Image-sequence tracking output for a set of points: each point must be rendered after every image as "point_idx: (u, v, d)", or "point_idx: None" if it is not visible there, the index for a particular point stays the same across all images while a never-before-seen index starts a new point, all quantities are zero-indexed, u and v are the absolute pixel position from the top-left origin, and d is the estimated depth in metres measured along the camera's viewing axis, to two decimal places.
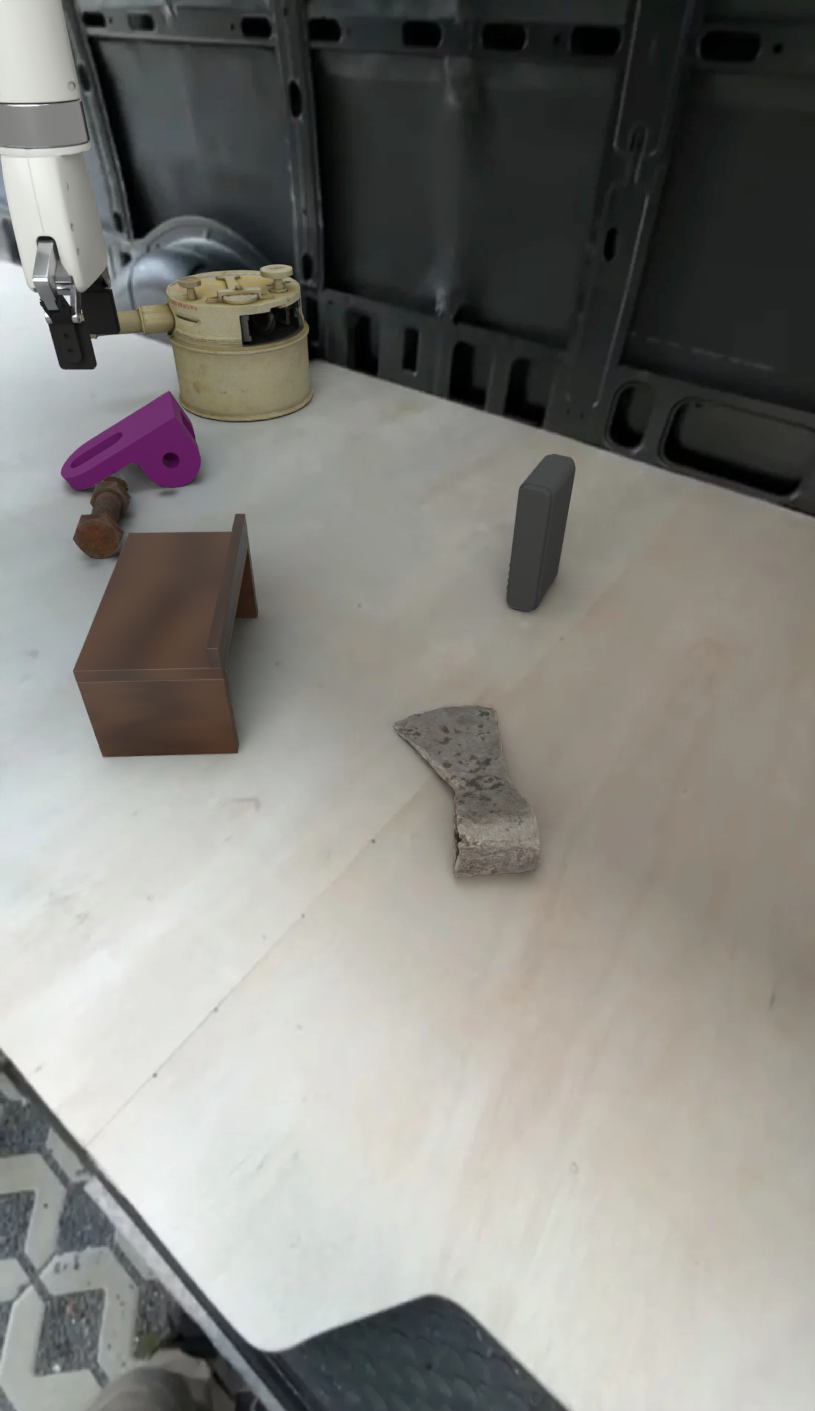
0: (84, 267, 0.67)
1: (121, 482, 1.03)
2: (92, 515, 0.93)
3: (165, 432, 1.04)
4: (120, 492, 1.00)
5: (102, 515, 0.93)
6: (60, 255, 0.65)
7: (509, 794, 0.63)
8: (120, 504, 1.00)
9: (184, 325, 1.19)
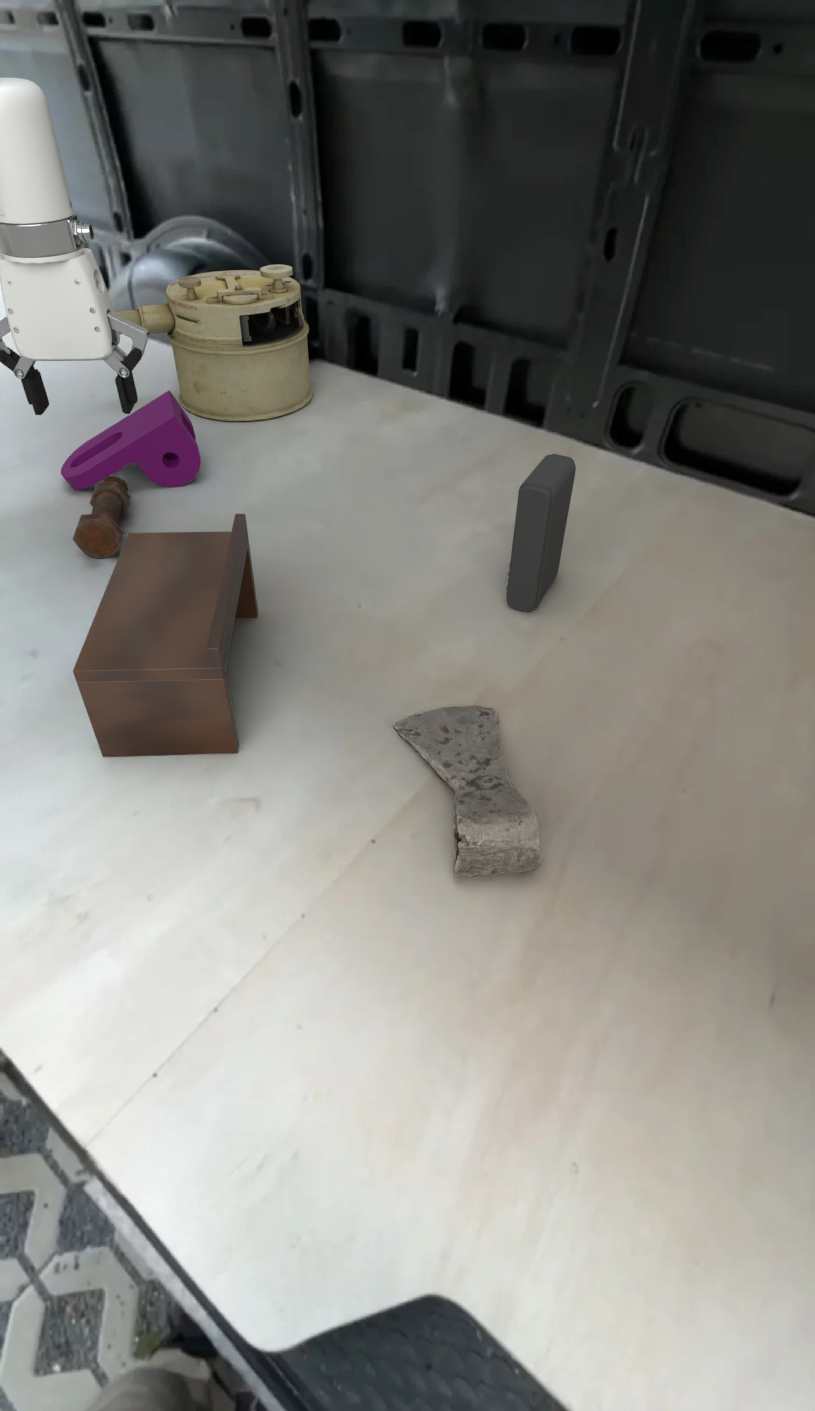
0: (26, 343, 0.83)
1: (121, 482, 1.03)
2: (92, 515, 0.93)
3: (164, 431, 1.04)
4: (120, 492, 1.00)
5: (102, 515, 0.93)
6: None
7: (509, 794, 0.63)
8: (120, 504, 1.00)
9: (184, 325, 1.19)
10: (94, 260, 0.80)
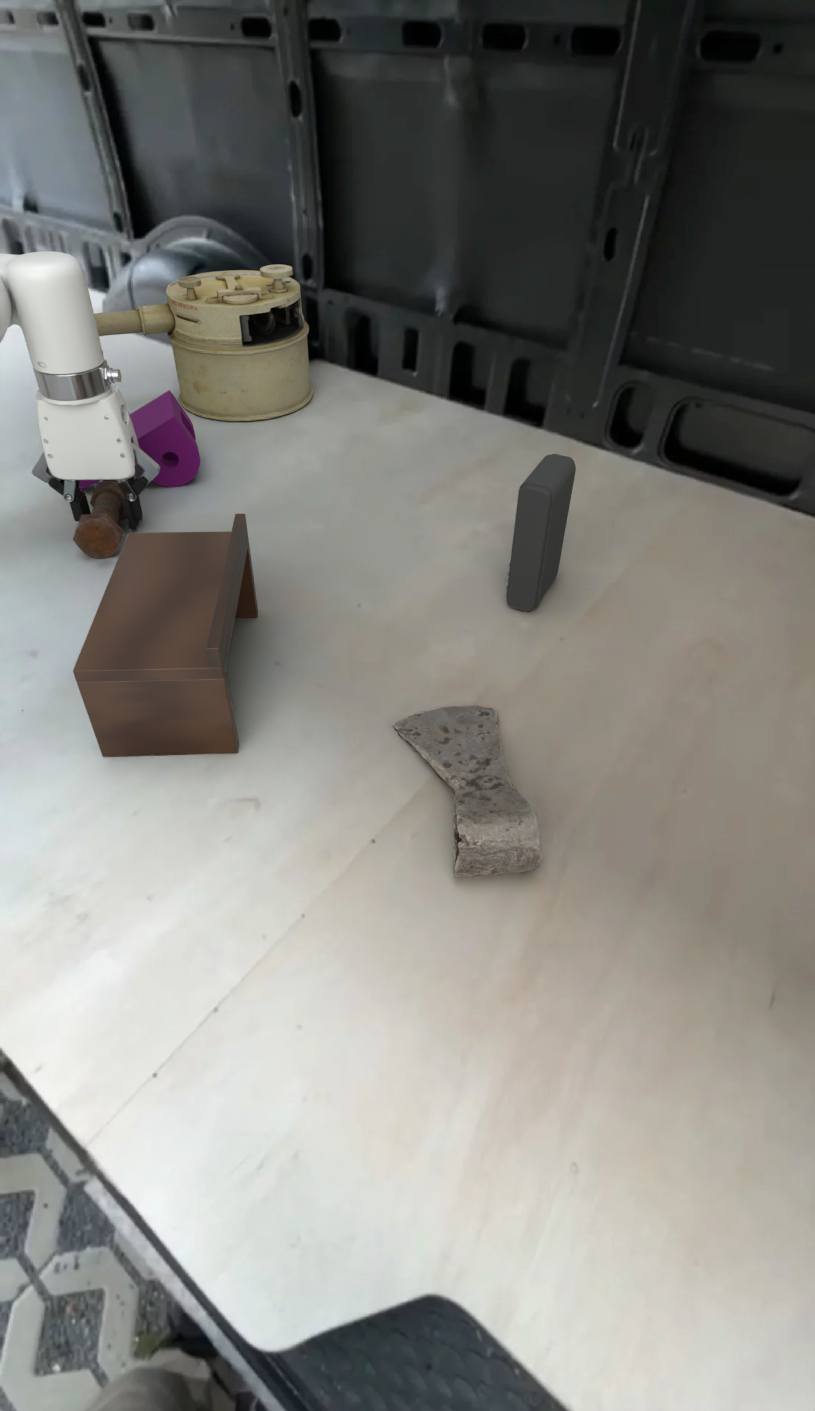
0: (58, 466, 0.93)
1: None
2: (92, 515, 0.93)
3: (164, 431, 1.04)
4: (120, 492, 1.00)
5: (102, 515, 0.93)
6: None
7: (509, 794, 0.63)
8: (120, 504, 1.00)
9: (184, 325, 1.19)
10: (121, 397, 0.90)
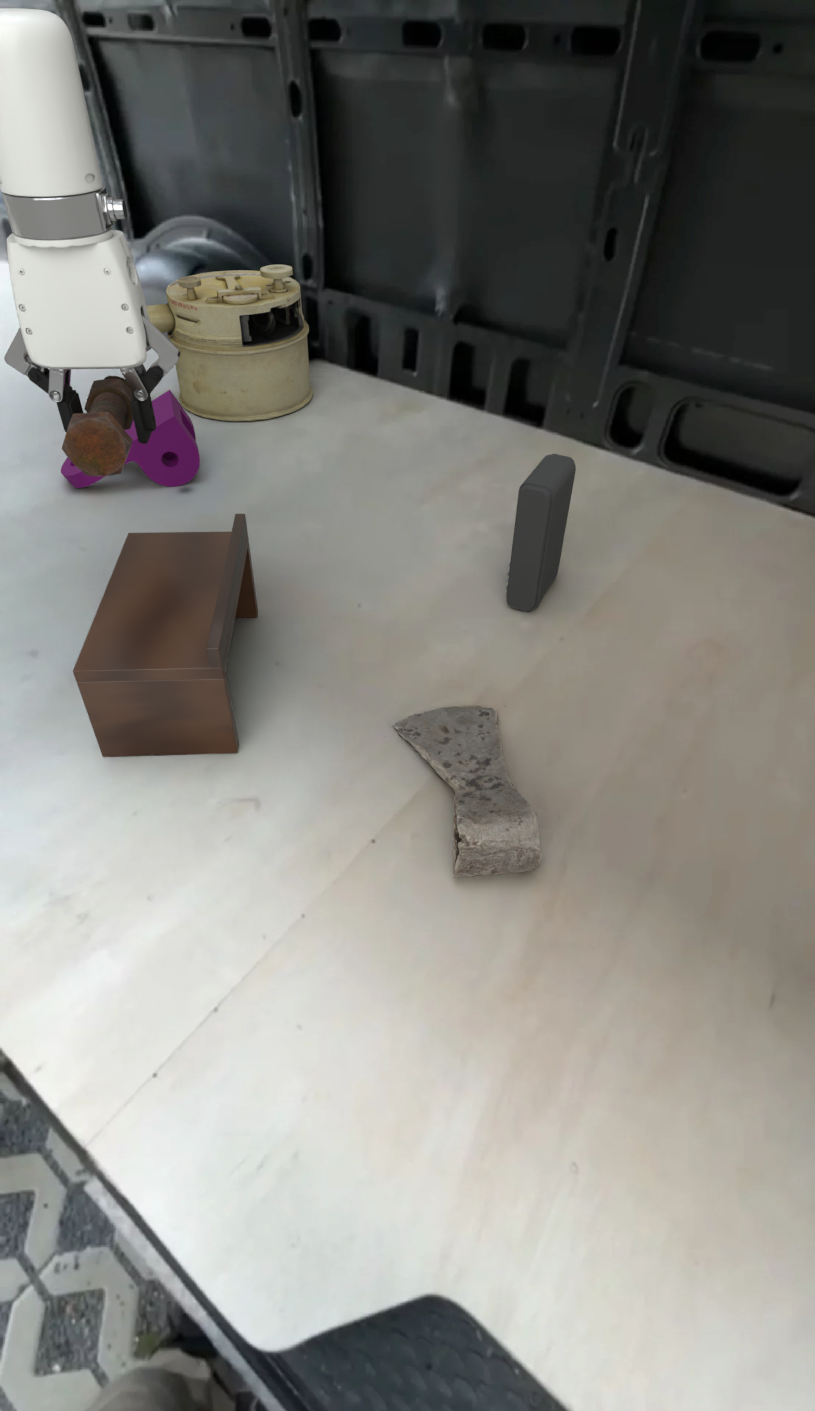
0: (41, 347, 0.67)
1: (126, 384, 0.77)
2: (88, 414, 0.67)
3: (164, 431, 1.04)
4: (125, 393, 0.74)
5: (102, 414, 0.67)
6: None
7: (508, 794, 0.63)
8: (125, 409, 0.74)
9: (184, 325, 1.19)
10: (126, 245, 0.65)
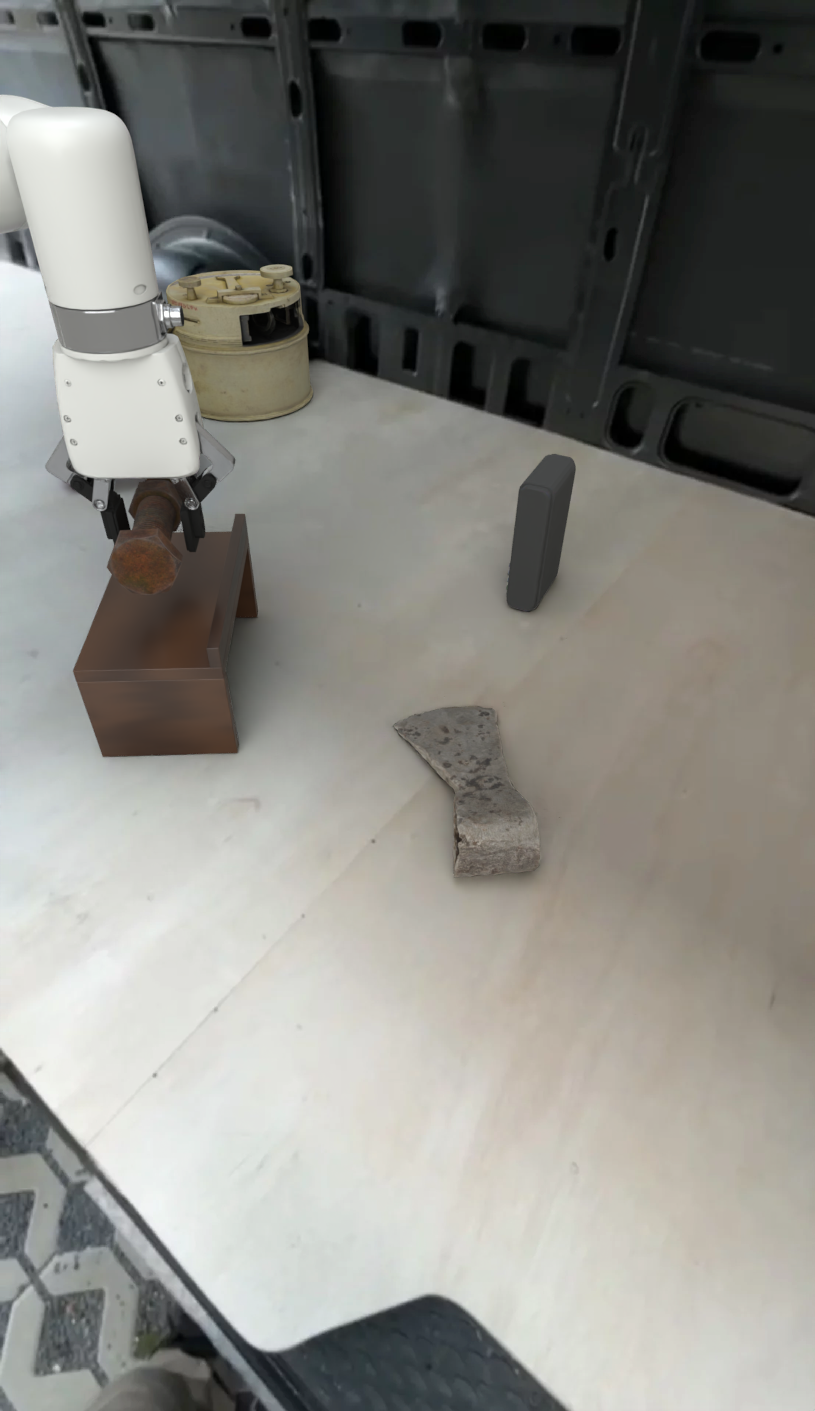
0: (86, 458, 0.61)
1: None
2: (136, 531, 0.61)
3: None
4: (173, 496, 0.69)
5: (151, 531, 0.61)
6: None
7: (509, 794, 0.63)
8: (173, 513, 0.69)
9: (184, 325, 1.19)
10: (182, 351, 0.59)
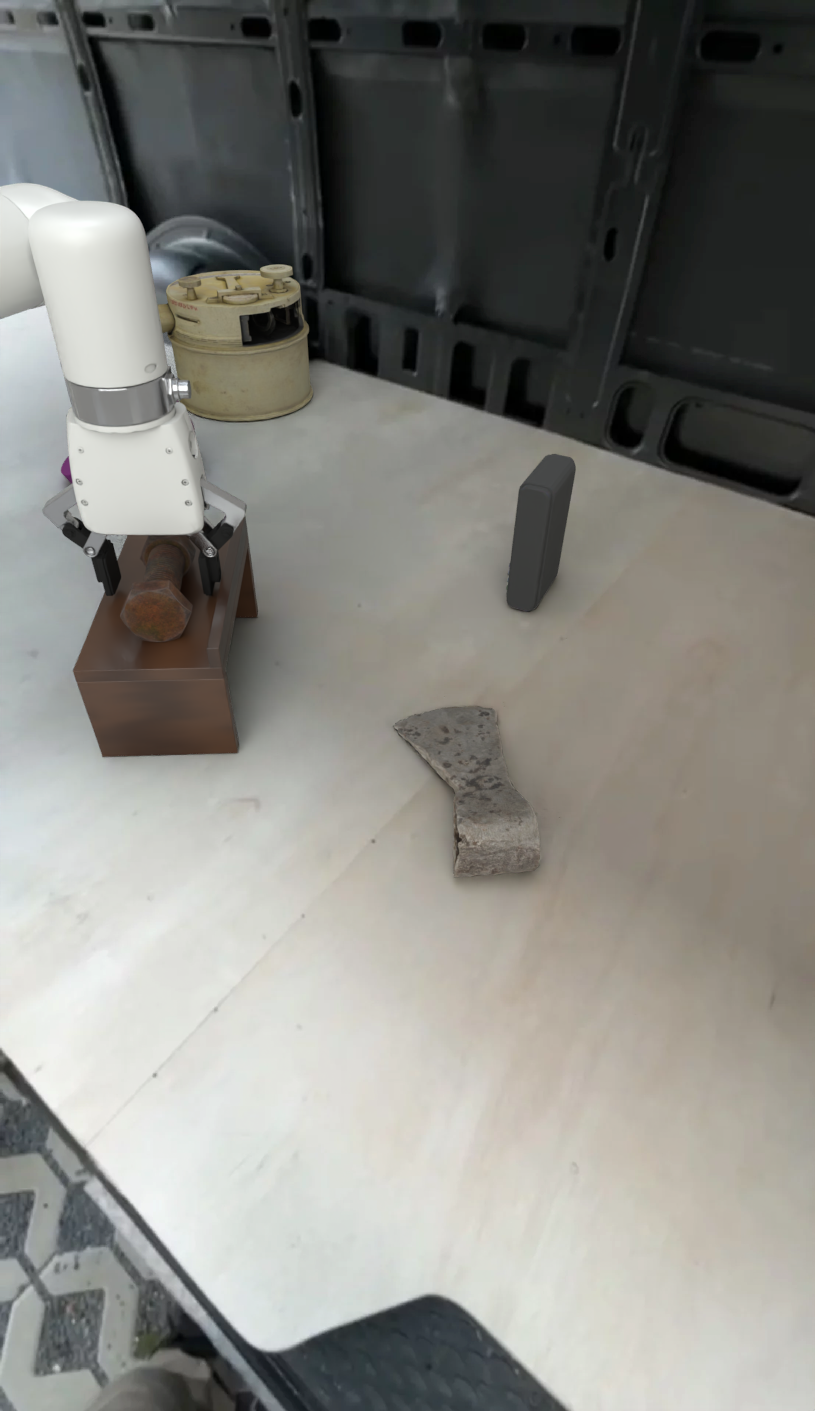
0: (96, 517, 0.65)
1: None
2: (149, 583, 0.65)
3: None
4: (183, 544, 0.72)
5: (163, 583, 0.64)
6: None
7: (508, 794, 0.63)
8: (183, 561, 0.72)
9: (184, 325, 1.19)
10: (188, 419, 0.62)
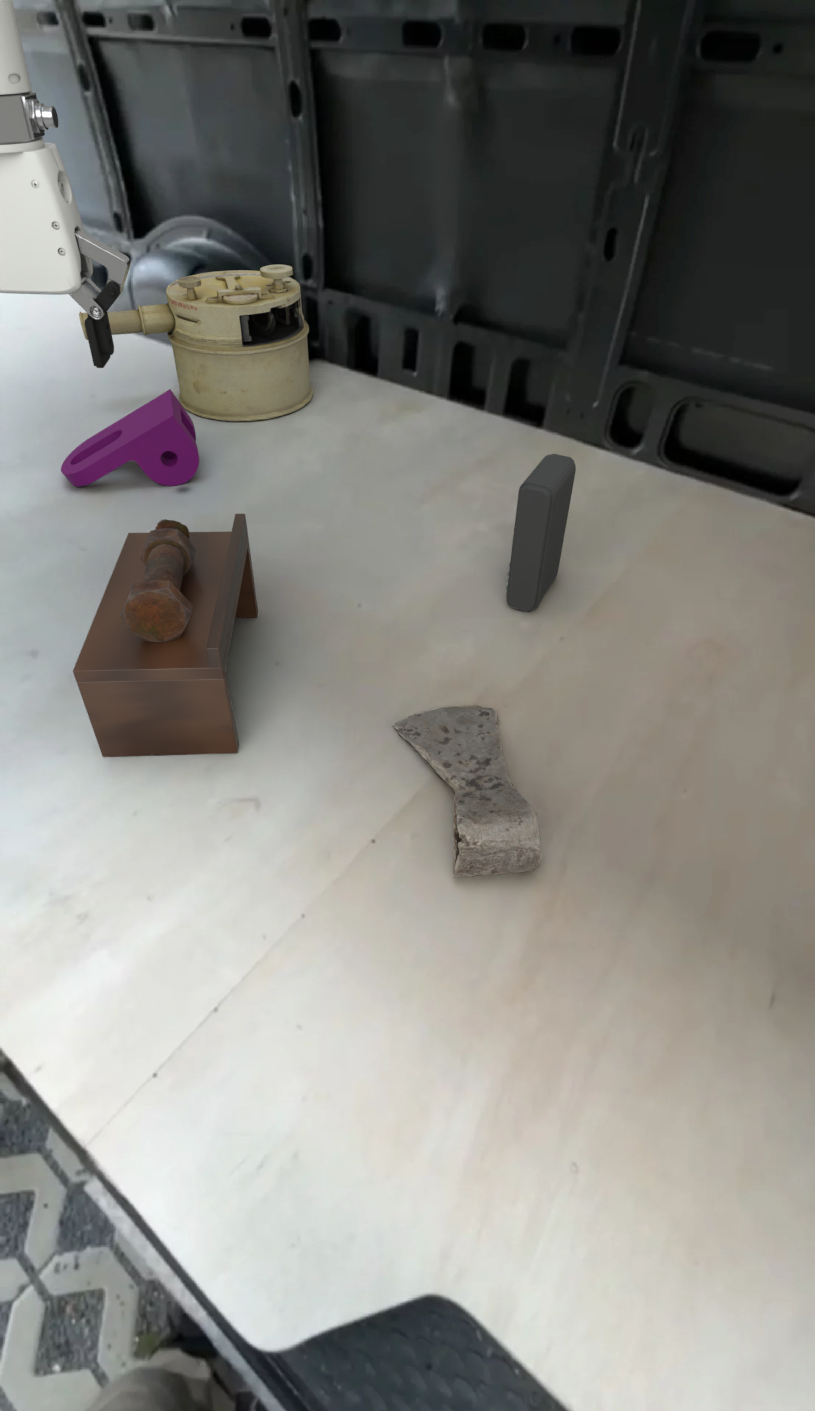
0: None
1: (182, 528, 0.75)
2: (148, 583, 0.65)
3: (163, 430, 1.04)
4: (183, 544, 0.72)
5: (163, 583, 0.64)
6: None
7: (508, 794, 0.63)
8: (182, 561, 0.72)
9: (184, 325, 1.19)
10: (59, 158, 0.61)
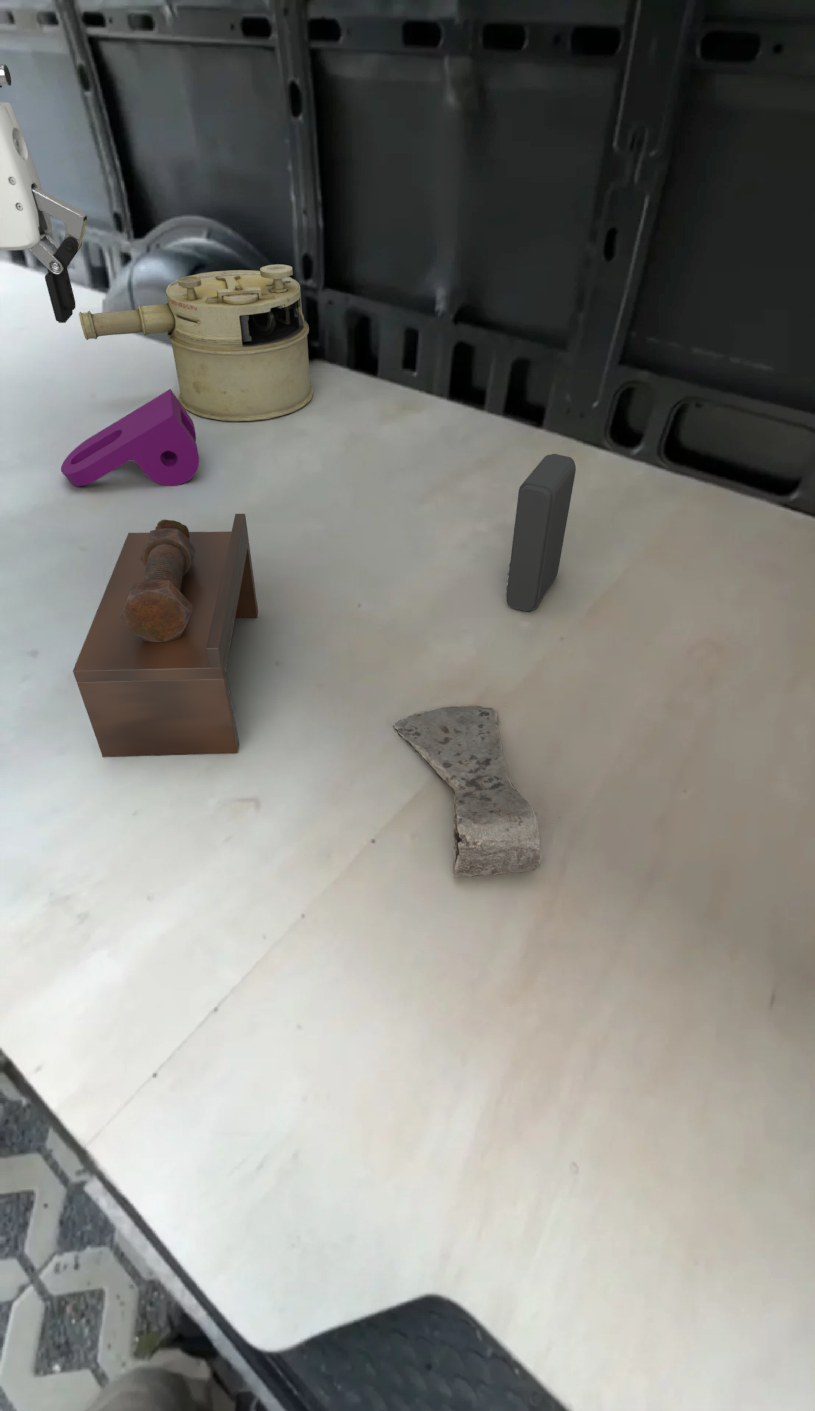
0: None
1: (182, 528, 0.75)
2: (148, 583, 0.65)
3: (163, 430, 1.04)
4: (183, 544, 0.72)
5: (163, 583, 0.64)
6: None
7: (508, 794, 0.63)
8: (182, 561, 0.72)
9: (184, 325, 1.19)
10: (13, 116, 0.63)
